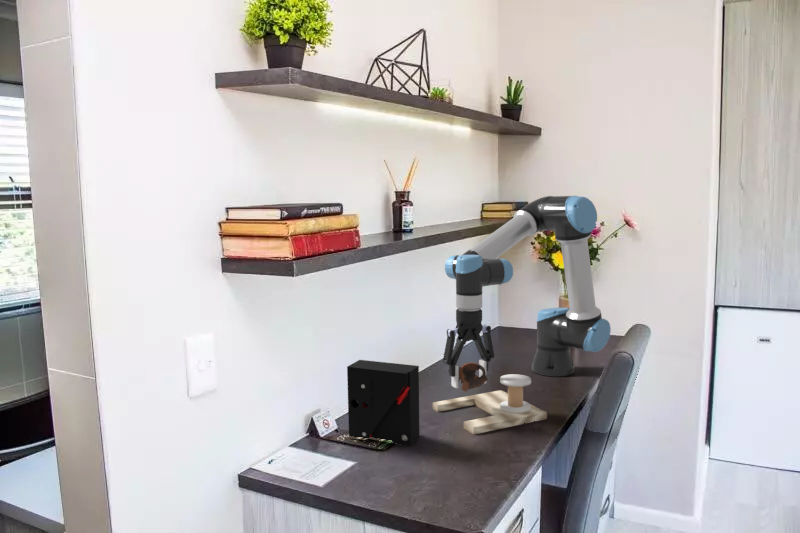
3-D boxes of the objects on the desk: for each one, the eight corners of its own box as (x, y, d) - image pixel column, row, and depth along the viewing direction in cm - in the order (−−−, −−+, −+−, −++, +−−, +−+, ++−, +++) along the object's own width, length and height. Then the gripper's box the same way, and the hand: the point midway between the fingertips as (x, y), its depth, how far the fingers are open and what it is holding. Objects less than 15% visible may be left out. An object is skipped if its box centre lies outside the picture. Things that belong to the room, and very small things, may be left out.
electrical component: (422, 435, 172) (421, 363, 169) (408, 449, 162) (407, 374, 160) (364, 426, 179) (363, 357, 176) (347, 439, 169) (345, 367, 167)
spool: (518, 401, 192) (518, 372, 191) (537, 410, 184) (537, 380, 183) (493, 406, 188) (494, 376, 187) (511, 415, 180) (512, 385, 179)
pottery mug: (489, 384, 188) (492, 365, 183) (478, 406, 181) (481, 387, 176) (452, 371, 192) (454, 351, 187) (440, 392, 185) (442, 372, 180)
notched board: (500, 396, 203) (500, 390, 203) (546, 418, 182) (546, 412, 182) (432, 408, 192) (432, 402, 192) (473, 434, 172) (473, 427, 171)
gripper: (492, 303, 190) (492, 376, 192) (429, 309, 180) (430, 386, 183) (507, 307, 183) (506, 382, 186) (443, 314, 174) (443, 393, 176)
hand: (468, 384), depth 184 cm, fingers closed on pottery mug, 9 cm apart
